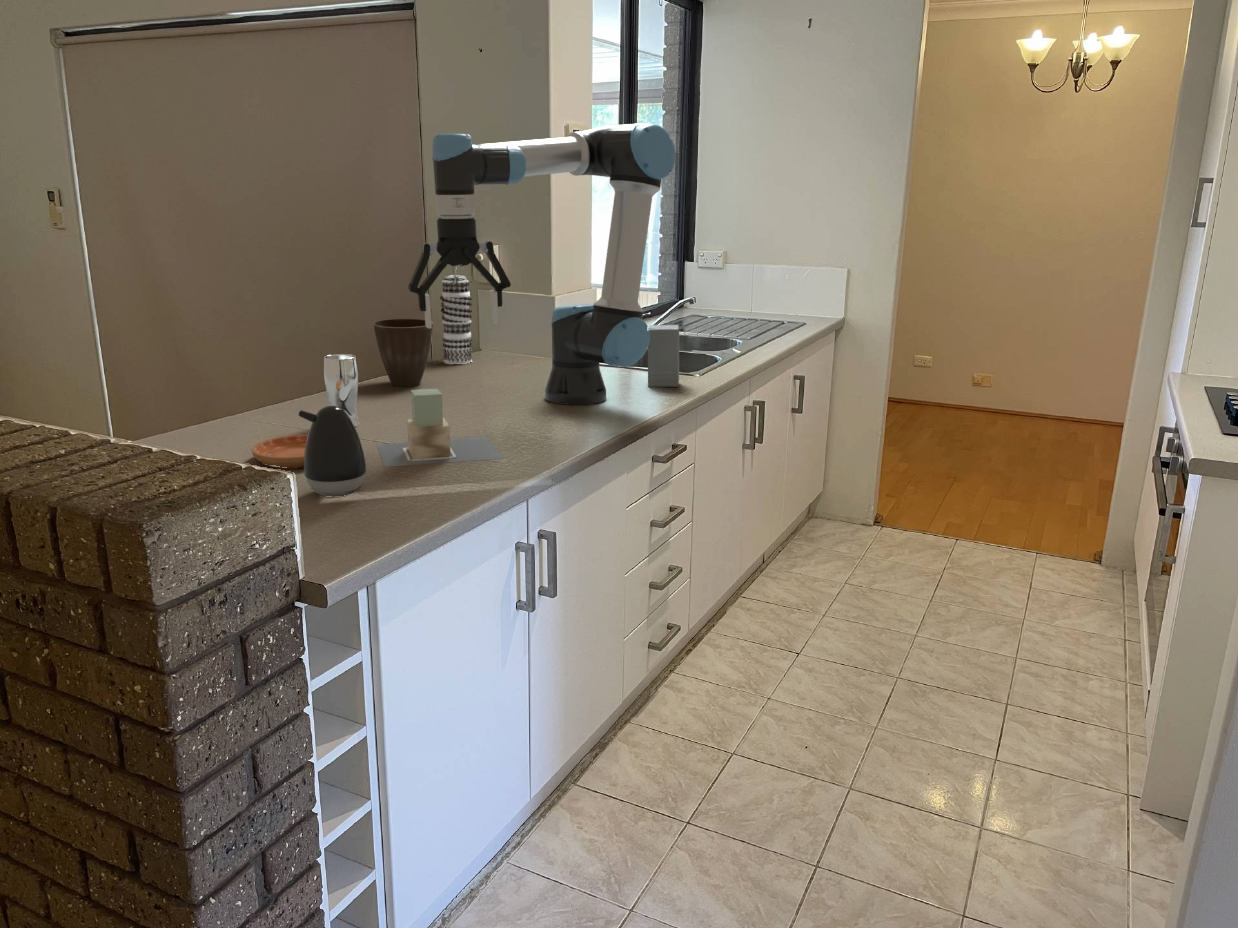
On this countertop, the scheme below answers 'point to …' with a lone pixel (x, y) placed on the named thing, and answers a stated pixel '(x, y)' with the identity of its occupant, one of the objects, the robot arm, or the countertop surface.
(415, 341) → the plant pot
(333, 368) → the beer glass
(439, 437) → the maple block
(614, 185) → the robot arm
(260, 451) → the saucer
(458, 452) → the board
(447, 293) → the decorative candle
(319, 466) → the pump dispenser
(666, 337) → the skincare box
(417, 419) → the sage block
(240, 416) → the countertop surface
